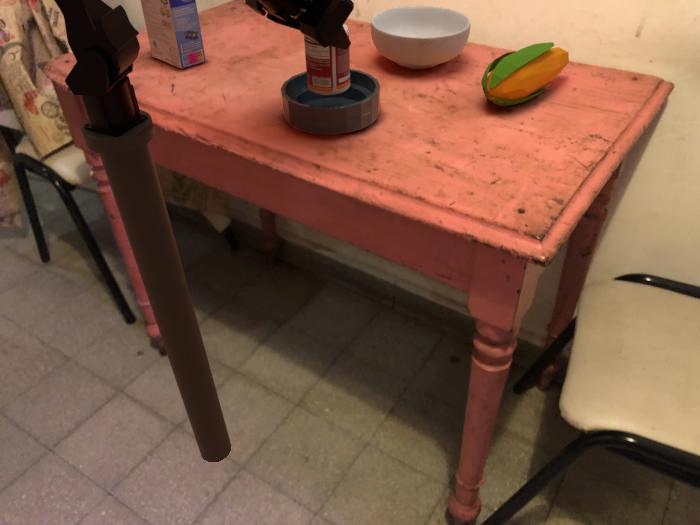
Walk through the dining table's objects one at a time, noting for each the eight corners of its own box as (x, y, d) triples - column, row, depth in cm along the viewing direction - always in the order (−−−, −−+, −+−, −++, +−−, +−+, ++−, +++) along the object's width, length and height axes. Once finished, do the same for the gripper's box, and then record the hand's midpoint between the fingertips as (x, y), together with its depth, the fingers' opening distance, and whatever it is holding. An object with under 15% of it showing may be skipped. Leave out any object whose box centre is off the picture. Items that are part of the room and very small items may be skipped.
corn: (471, 55, 84) (551, 21, 94) (463, 104, 89) (539, 67, 99) (514, 73, 80) (592, 35, 90) (503, 123, 85) (578, 82, 95)
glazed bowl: (353, 146, 81) (352, 116, 78) (265, 127, 86) (262, 97, 83) (394, 104, 90) (395, 76, 87) (313, 89, 95) (311, 62, 92)
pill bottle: (341, 76, 88) (339, -2, 81) (356, 92, 84) (356, 11, 77) (301, 83, 87) (296, 4, 80) (315, 99, 82) (310, 18, 75)
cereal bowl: (449, 86, 95) (453, 42, 90) (355, 72, 100) (354, 29, 96) (478, 50, 106) (482, 9, 102) (392, 39, 112) (393, -1, 108)
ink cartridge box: (208, 61, 106) (192, -26, 97) (183, 70, 103) (164, -19, 94) (177, 49, 111) (159, -35, 102) (151, 57, 108) (130, -29, 99)
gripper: (338, -84, 63) (412, 5, 74) (254, -106, 74) (330, -26, 86) (280, 7, 64) (362, 80, 76) (207, -28, 76) (288, 40, 88)
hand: (335, 39), depth 82 cm, fingers closed on pill bottle, 6 cm apart
